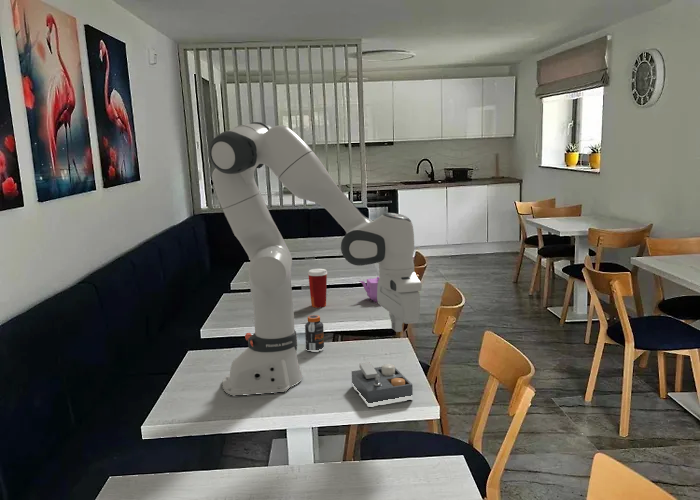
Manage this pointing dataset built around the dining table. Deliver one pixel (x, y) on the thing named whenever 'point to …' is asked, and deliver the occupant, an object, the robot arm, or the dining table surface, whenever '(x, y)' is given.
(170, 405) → the dining table surface
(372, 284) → the teapot
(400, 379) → the button orange
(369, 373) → the rocker
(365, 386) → the console
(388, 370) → the button ivory
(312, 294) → the coffee cup
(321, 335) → the pill bottle
